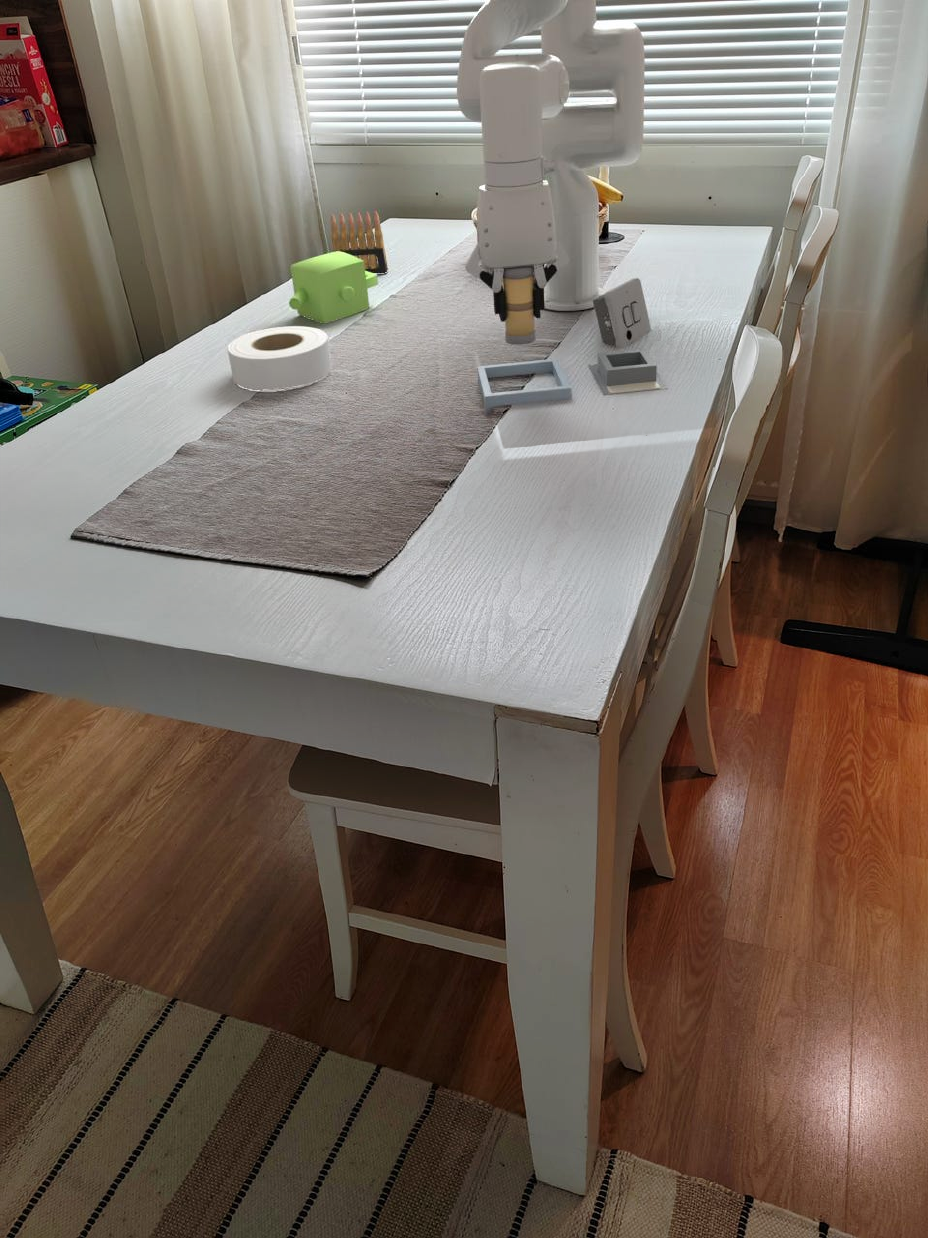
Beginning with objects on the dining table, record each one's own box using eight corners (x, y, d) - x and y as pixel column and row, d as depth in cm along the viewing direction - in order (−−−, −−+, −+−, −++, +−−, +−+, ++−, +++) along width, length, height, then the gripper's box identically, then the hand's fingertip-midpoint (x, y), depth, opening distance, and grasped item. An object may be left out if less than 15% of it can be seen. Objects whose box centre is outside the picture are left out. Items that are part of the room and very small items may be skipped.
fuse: (504, 336, 139) (500, 263, 134) (533, 333, 139) (531, 260, 134) (507, 345, 135) (503, 270, 130) (537, 342, 136) (535, 267, 130)
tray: (478, 382, 147) (477, 366, 146) (558, 374, 147) (557, 358, 146) (486, 413, 137) (484, 396, 136) (571, 404, 137) (571, 387, 136)
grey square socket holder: (587, 371, 147) (587, 348, 145) (647, 365, 148) (648, 342, 146) (603, 401, 137) (603, 377, 135) (667, 395, 138) (668, 370, 136)
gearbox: (307, 335, 173) (298, 281, 167) (277, 322, 179) (267, 269, 174) (388, 307, 182) (382, 255, 176) (357, 295, 188) (351, 245, 183)
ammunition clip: (388, 271, 202) (381, 209, 195) (386, 273, 201) (379, 211, 194) (337, 274, 203) (328, 212, 197) (335, 276, 202) (326, 215, 195)
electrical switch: (622, 354, 152) (618, 293, 148) (593, 352, 155) (588, 292, 151) (652, 336, 158) (649, 277, 154) (624, 334, 161) (621, 276, 157)
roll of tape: (282, 352, 166) (276, 319, 163) (352, 365, 158) (347, 331, 155) (212, 384, 156) (205, 349, 152) (284, 400, 148) (278, 364, 144)
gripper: (573, 162, 129) (575, 303, 139) (446, 174, 128) (457, 314, 139) (584, 172, 123) (584, 319, 133) (450, 184, 122) (461, 331, 132)
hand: (519, 315), depth 136 cm, fingers closed on fuse, 4 cm apart
